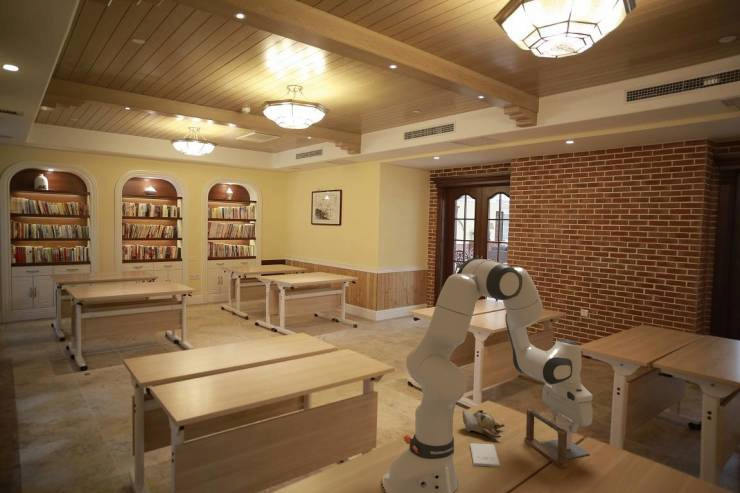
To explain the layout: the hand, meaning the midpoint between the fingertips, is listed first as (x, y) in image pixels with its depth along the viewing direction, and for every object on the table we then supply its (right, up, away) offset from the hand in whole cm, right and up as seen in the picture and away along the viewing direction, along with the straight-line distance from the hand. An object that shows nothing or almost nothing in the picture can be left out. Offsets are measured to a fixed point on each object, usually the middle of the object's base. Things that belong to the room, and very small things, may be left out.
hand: (564, 426), depth 153 cm
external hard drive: (-28, -9, -4) cm, 30 cm away
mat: (0, -8, +1) cm, 8 cm away
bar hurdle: (-7, -8, -2) cm, 11 cm away
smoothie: (0, -7, 0) cm, 7 cm away
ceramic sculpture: (-25, -8, +13) cm, 29 cm away
